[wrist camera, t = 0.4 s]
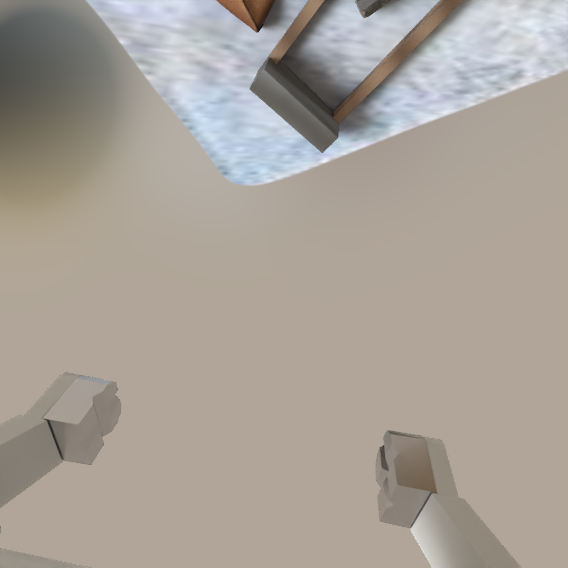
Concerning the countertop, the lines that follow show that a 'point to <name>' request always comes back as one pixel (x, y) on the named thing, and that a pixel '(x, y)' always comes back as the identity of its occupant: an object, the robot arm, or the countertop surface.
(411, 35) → the channel
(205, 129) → the countertop surface
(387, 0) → the pipe
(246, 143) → the countertop surface
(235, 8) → the sunglasses case
